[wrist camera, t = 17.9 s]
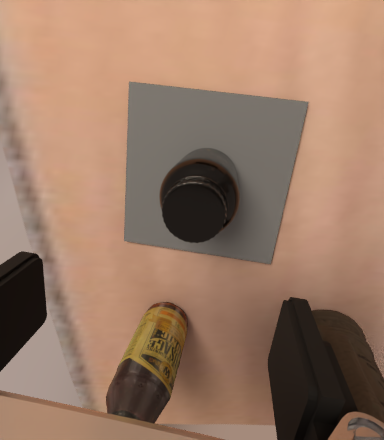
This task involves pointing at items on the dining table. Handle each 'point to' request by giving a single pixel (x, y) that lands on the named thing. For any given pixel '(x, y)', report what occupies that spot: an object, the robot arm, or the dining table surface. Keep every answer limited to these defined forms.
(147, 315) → the sauce bottle
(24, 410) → the robot arm
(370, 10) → the dining table surface
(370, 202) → the dining table surface
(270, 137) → the mat
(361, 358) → the beer stein
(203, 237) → the supplement bottle
